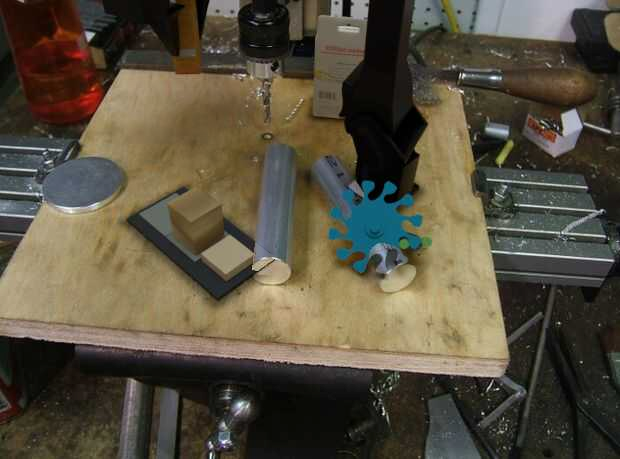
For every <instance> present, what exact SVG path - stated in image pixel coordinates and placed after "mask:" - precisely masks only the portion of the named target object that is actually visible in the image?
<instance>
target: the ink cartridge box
mask: <svg viewBox="0 0 620 459" xmlns="http://www.w3.org/2000/svg"><path fill="white" fill-rule="evenodd" d="M349 25H350V26H349ZM366 28H367V18H359V17H358V18H357V17H349V16H334V15H325V14H320V15H318V17H317V29H316V35H315V39H314V64H313V65H314V67H313V93H312V116H314V117H319V118H320V117H321V118H331V119H340V120H344V117H345V116H344V117H339V113H340V111H341V110H342V105H343V99H342V83H343V81H344V80H345V79H346V78H347V77H348V76H349V74H350V73H351V72H352V71H353V70H354V69H355V68H356V66H357V65H358V64H359V63H360V62H361V61H362V60H363V59H364V50H365V39H366Z"/></svg>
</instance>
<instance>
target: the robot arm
mask: <svg viewBox="0 0 620 459" xmlns="http://www.w3.org/2000/svg"><path fill="white" fill-rule="evenodd" d="M210 1H211V0H196V8H197V19H198V29H199V40H200V41H202V38H203V34H204V29H205V24H206V20H207V14H208V10H209V5H210ZM101 3H102V6H103V12H104V14H105V15H106V14H107V15H109V16H113V17H117V18H121V19H124V20H129V21H132V22H135V23H140V24H144V25H146V24H148V25H149V27H150V28H151V30H152V31H153V33H155V36H157V38H158V39H159V41H160V42H161V44H162V45H163V46H164V48H165V49H166V51H167V52H168V54H169V55H170V56H172V57H173V56H175V57H178V56H179V55H180V41H179V28H178V15H179V14H180V13H181V12H182V11H183V9H184V8H185V7H186V5H182V4H178V3H176V0H101ZM415 4H416V0H368V6H367V18H366V19H367V28H366V39H365V50H364V59H363V60H362V61H361V62H360V63H359V64H358V65H357V66H356V68H355V69H354V70H353V71H352V72H351V73H350V74H349V76H348V77H347V78H346V79H345V80H344V81H343V83H342V99H343V105H342V110H341V111H340V113H339V117H344V116H345V117H344V119H343V125H344V130H345V132H346V134H347V135H350V136H351V139H352V143H353V146H354V150H355V153H356V163H355V170H354V177H355V178H356V179H355V180H356V181H357V183H358V184H359V186H360V187H361V189H362V190H363V188H362V183H363V181H372V182H374V185H375V186H374V189H373V190H372V191H371V192H370V193H369V194H368V199H369V200H371V201H374V200H376V199H377V198H378V197H379V196H380V195H381V194H382V192H383V190H384V185H385V183H386V182H388V181H389V182H391V183H392V184H394V185H395V186H396V187H397V189H396V191H395V192H394V193H393V194H388V195H386V196H385V197H384V201H385V203H387V204H390V203H395V202H398V201H399V200H401V199H402V198H403V197H404V196H405V195H406V194H410V195H411V196H413V195H415V194H416V193H418V192H419V191H420V184H418V183H416V182H415V181H416V176H417V171H418V166H419V163H420V158H421V154H420V153H418V152H417V151H416V146H417V145H418V143H419V142H420V140H421V138H422V136H423V135H424V133H425V131H426V129H427V128H428V126H429V122H428V121H427V119H426V118H425V117H424V115H423V114H422V112H421V111H420V110H419V108H418V106H417V105H416V104H415V103H414V86H413V75H412V72H411V68H410V65H409V61H408V51H409V44H410V37H411V31H412V24H413V18H414V11H415ZM363 192H364V191H363ZM398 207H399V206H397V208H398Z"/></svg>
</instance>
